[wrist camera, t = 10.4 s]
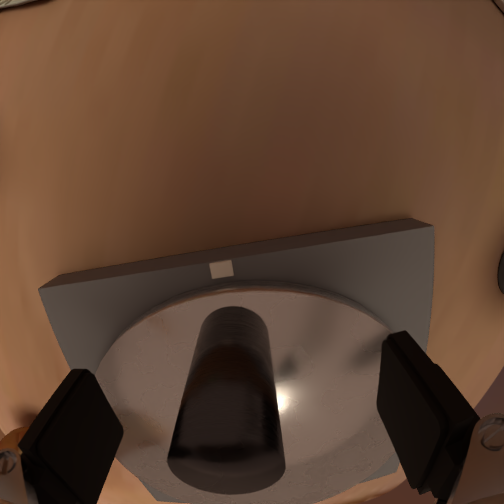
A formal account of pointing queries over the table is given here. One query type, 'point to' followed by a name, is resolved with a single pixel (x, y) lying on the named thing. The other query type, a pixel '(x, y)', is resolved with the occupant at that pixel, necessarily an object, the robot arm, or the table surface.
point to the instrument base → (251, 269)
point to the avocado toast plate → (13, 3)
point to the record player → (249, 394)
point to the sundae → (501, 274)
